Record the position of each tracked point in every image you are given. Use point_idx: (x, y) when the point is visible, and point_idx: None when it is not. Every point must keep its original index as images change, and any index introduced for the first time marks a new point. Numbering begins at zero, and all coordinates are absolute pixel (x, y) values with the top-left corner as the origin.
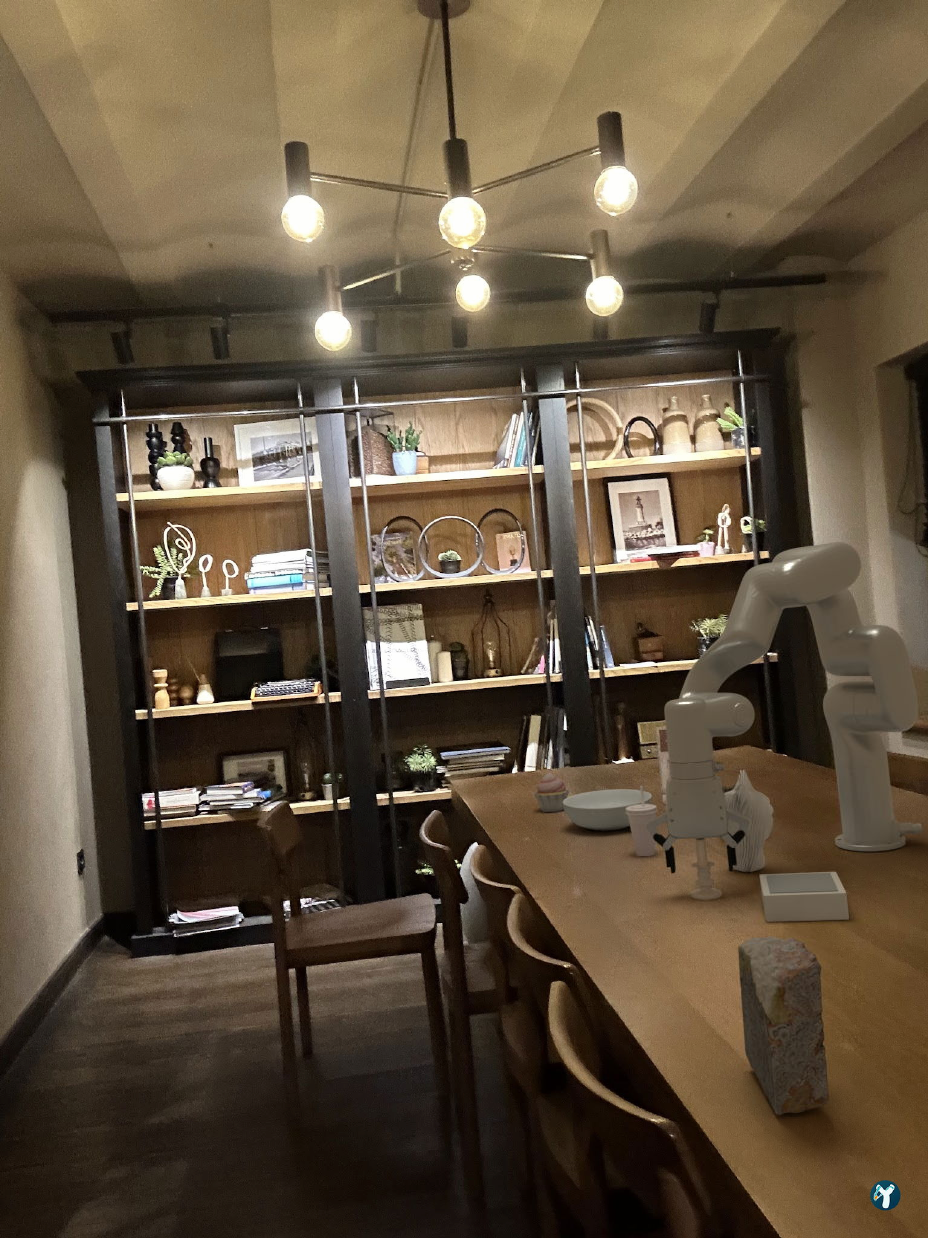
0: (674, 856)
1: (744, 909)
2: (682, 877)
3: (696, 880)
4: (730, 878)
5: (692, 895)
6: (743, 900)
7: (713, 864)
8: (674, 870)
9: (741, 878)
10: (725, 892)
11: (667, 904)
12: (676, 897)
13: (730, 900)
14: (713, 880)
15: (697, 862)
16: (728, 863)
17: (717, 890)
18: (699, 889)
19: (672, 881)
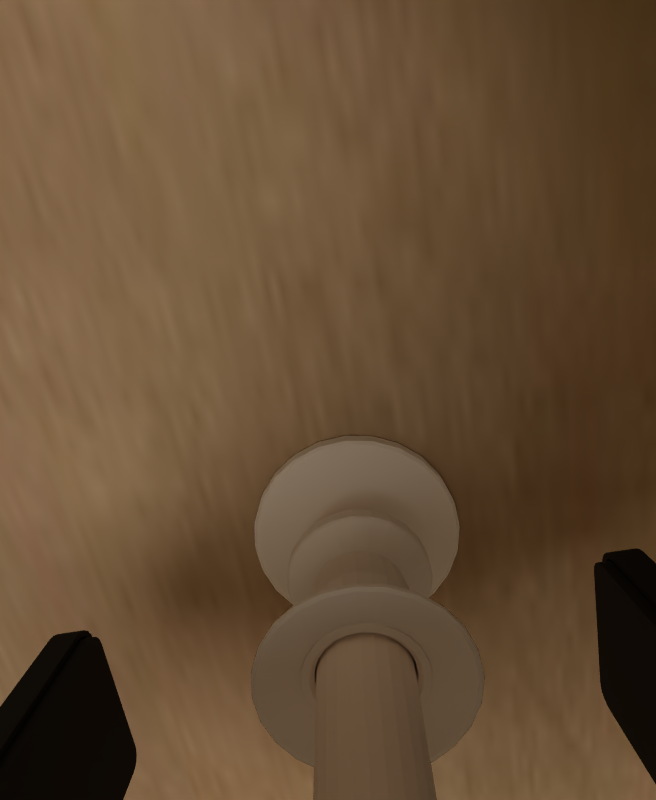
0: (40, 761)
1: (601, 747)
2: (63, 51)
3: (292, 574)
4: (480, 68)
5: (279, 591)
6: (594, 607)
7: (475, 694)
8: (126, 779)
9: (574, 64)
10: (472, 456)
11: (161, 692)
12: (175, 570)
13: (516, 610)
14: (426, 573)
15: (296, 624)
16: (643, 761)
17: (429, 502)
18: (301, 483)
19: (21, 187)
